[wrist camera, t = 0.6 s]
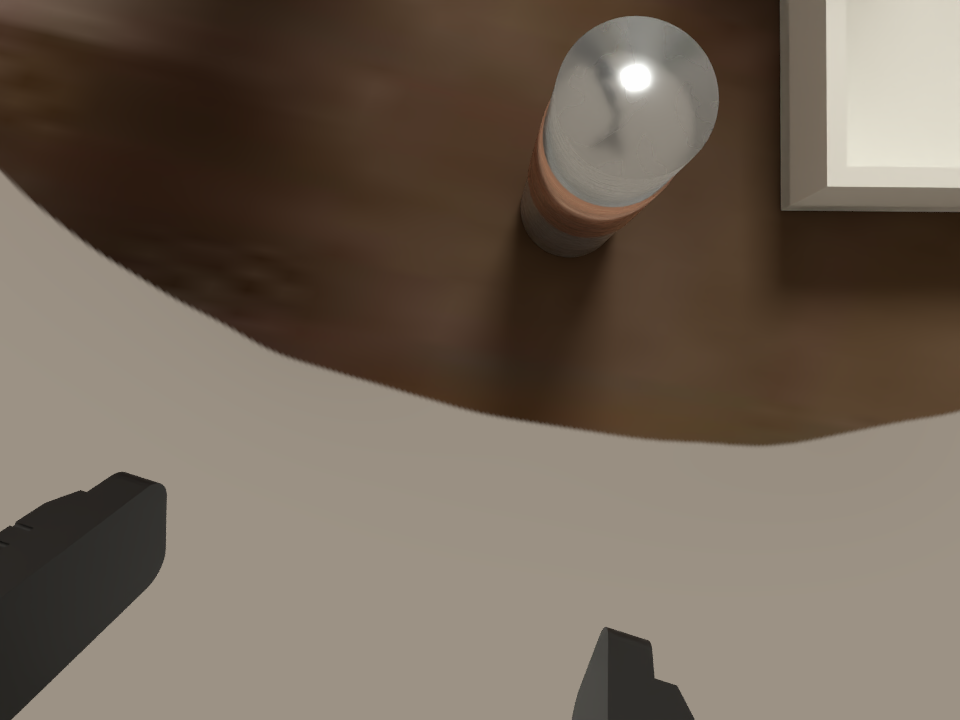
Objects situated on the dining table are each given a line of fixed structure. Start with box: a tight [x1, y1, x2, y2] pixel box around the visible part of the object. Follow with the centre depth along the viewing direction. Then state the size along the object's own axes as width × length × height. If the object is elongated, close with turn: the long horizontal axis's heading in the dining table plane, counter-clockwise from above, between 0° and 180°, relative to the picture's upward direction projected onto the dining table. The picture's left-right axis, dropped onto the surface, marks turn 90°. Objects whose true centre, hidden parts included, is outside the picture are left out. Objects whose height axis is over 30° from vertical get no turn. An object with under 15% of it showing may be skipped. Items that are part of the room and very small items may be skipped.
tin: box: [520, 16, 719, 257], centre depth 27 cm, size 6×6×14 cm
